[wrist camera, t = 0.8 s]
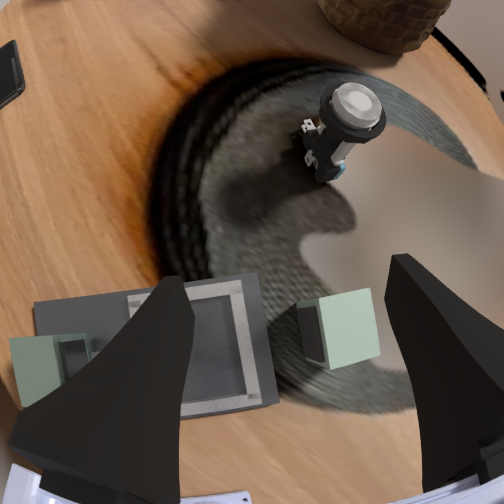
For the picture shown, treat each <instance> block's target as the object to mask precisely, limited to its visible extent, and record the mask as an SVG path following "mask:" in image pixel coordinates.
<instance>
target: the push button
mask: <svg viewBox="0 0 504 504" xmlns="http://www.w3.org/2000/svg"><path fill="white" fill-rule="evenodd" d="M330 100H332V103H331V105H330V104H329V101H330ZM320 104H321V107H320V110H319V114H320V118H321V121H322V124H321V126H319V127H318V128H315V127H314V125H313V123H312V121H311V120H310V119H309V120H304V123H305V125H302V126H301V127H302V129H303V131H304V133H305V134H304V136H303V141H304V146H305V148H306V150H307V154H306V156H305V161H306V163H307V166H308V167H310V165H311V164H313V166H314V168H315V171H316V172H315V175H314V176H315V179H316V182H317V183H322V182H326V181H330V180H334V179H337V178H338V177H339V176H340V175H341V174H342V173H343V171H344V170H345V164H344V162H343V160H344V159H345V157H346V155H347V154H348V153H349V152H350V150H351V149H352V148H353V147H354V146H355V144H356V143H362V144H363V143H366V142H368V141H370V140H371V139H374V138H376V137H377V136H379V135H380V134H381V133H382V131H383V130H384V128H385V126H386V115H385V112H384V109H383V107H382V105H381V104H380V101H379V99H378V98H377V96H376V95H375V94H374V93H373V92H372V91H371V90H369V89H368V88H366V87H365V86H363V85H361V84H357V83H348V82H337V83H333V84H331V85H329V86H328V87H326V88H325V90H324V91H323V93H322V96H321V100H320ZM308 122H309V123H311V125H308V124H307V123H308ZM371 126H372V128H371V130H369V128H370V127H371ZM305 127H307V130H305ZM368 130H369V131H368ZM307 158H308V159H309V162H308V160H307Z"/></svg>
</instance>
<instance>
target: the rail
mask: <svg viewBox="0 0 504 504" xmlns="http://www.w3.org/2000/svg"><path fill="white" fill-rule="evenodd" d="M183 284H184V287H185V290H186V293H187V295H188V298H189V301H190V304H191V306H192V309H193V312H194V315H195V327H194V339H193V346H192V351H191V356H190V361H189V366H188V371H187V376H186V381H185V386H184V391H183V396H182V403H181V413H180V419H185V418H194V417H202V416H209V415H216V414H223V413H229V412H235V411H241V410H246V409H252V408H257V407H262V406H267V405H272V404H276V403H280V402H279V396H278V390H277V384H276V378H275V373H274V367H273V361H272V355H271V349H270V344H269V338H268V332H267V326H266V321H265V315H264V309H263V303H262V298H261V292H260V286H259V280H258V275H257V272H253V273H247V274H240V275H233V276H227V277H220V278H213V279H207V280H200V281H193V282H186V283H183ZM154 288H155V287H150V288H143V289H136V290H128V291H121V292H113V293H106V294H98V295H90V296H82V297H75V298H66V299H58V300H50V301H42V302H34V311H35V320H36V328H37V336H33V337H16V338H9V343H10V350H11V356H12V362H13V368H14V373H15V378H16V383H17V387H18V392H19V396H20V400H21V404H22V407H28V406H30V405H32V404H33V403H35V402H37V401H38V400H40V399H42V398H43V397H45V396H46V395H48V394H49V393H51V392H52V391H54V390H55V389H56V388H58V387H59V386H61V385H62V384H63V383H65V382H66V381H67V380H69V379H70V378H71V377H72V376H73V375H75V374H76V373H77V372H78V371H79V370H80V369H82V368H83V367H84V366H85V365H86V364H88V363H89V362H90V361H91V360H92V359H93V358H94V357H95V356H96V355H97V354H98V353H99V352H100V351H101V350H102V349H103V348H104V347H105V346H106V345H107V344H108V343H109V342H110V341H111V340H112V339H113V338H114V337H115V335H116V334H117V333H118V332H119V331H120V330H121V329H122V327H123V326H124V325H125V324H126V323H127V322H128V321H129V319H130V318H131V317H132V316H133V315H134V313H135V312H136V311H137V310H138V308H139V307H140V306H141V305H142V304H143V302H144V301H145V300H146V299H147V297H148V296H149V295H150V293H151V292H152V291H153V290H154Z"/></svg>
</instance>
